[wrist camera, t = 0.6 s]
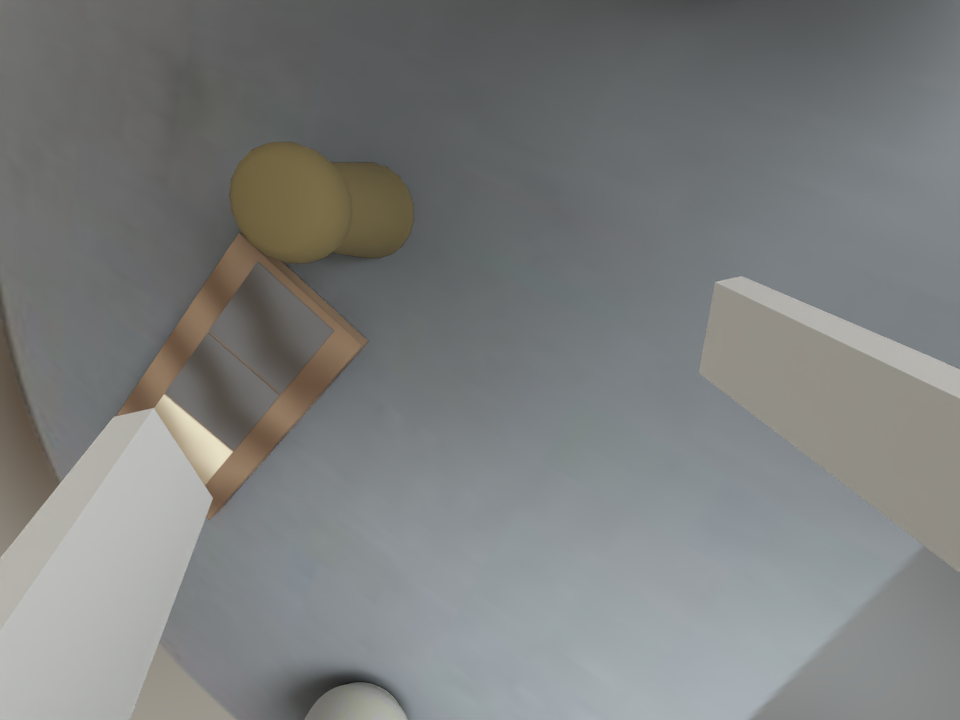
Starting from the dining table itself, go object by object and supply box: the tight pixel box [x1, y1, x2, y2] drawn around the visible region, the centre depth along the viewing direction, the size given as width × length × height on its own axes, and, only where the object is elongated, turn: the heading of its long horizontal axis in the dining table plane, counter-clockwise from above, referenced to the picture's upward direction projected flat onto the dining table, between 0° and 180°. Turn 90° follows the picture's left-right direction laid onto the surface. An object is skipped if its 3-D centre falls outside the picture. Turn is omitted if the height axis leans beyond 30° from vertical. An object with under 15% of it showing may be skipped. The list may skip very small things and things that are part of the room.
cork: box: [229, 142, 414, 263], centre depth 23 cm, size 6×6×11 cm
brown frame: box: [117, 233, 368, 520], centre depth 33 cm, size 22×11×1 cm, turn 137°
